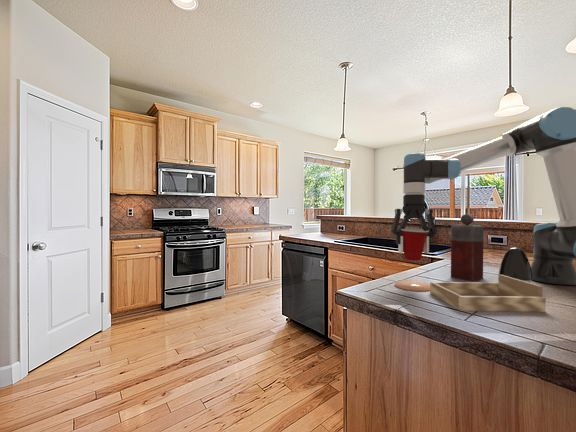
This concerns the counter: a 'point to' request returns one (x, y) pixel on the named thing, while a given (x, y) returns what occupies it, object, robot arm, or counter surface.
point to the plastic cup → (413, 243)
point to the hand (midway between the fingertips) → (413, 252)
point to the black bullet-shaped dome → (516, 265)
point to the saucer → (413, 285)
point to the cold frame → (510, 290)
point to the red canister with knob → (467, 250)
